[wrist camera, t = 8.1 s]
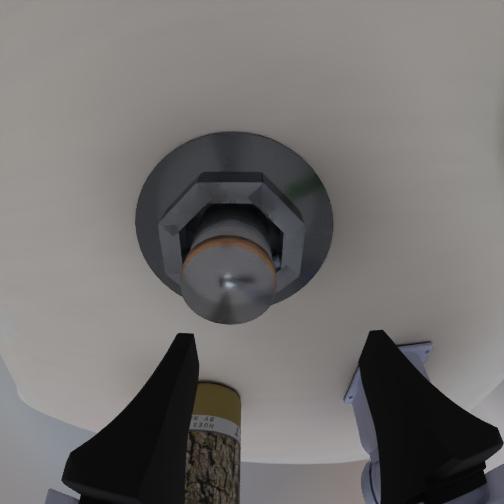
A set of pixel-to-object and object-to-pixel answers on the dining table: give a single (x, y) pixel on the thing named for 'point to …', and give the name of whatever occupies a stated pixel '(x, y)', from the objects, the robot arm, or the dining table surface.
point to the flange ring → (235, 191)
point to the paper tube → (214, 447)
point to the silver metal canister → (230, 265)
